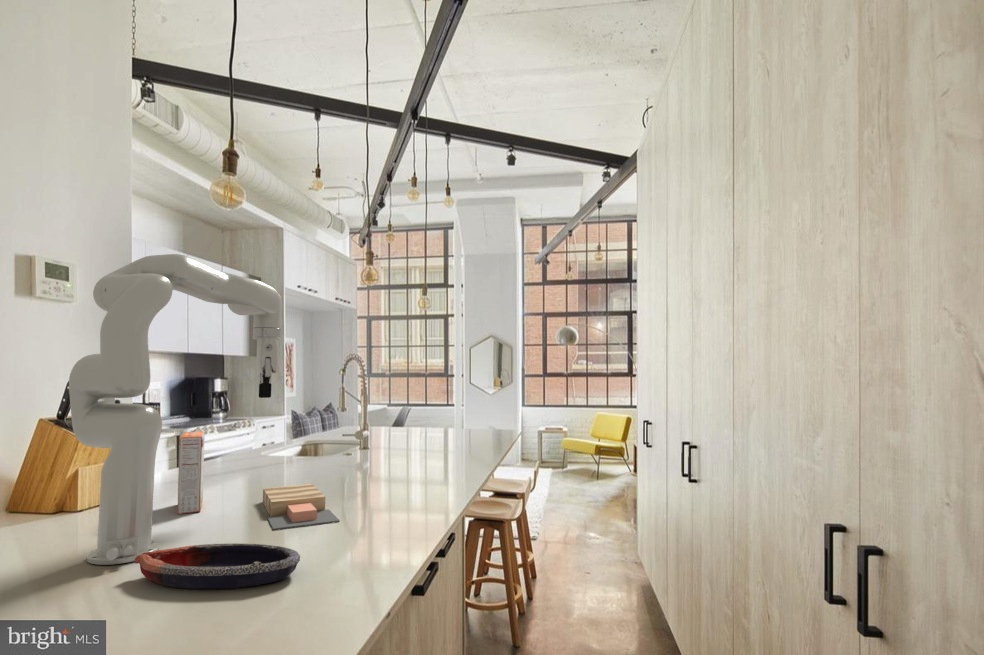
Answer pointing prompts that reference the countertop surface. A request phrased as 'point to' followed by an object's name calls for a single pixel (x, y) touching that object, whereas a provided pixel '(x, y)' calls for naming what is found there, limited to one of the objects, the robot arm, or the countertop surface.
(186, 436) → the cracker box
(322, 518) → the mat
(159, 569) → the dish
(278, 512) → the wooden block
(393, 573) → the countertop surface
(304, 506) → the pink rectangular block
